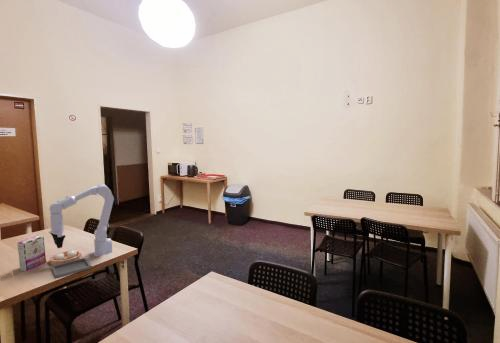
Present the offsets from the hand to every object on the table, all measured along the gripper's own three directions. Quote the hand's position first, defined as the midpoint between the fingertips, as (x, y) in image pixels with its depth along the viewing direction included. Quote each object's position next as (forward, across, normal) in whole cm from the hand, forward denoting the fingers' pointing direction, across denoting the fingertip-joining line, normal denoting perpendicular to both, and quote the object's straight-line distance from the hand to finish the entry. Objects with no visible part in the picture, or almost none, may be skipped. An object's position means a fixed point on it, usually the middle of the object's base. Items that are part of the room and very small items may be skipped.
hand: (58, 245), depth 153 cm
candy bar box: (+10, -2, -12) cm, 16 cm away
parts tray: (+10, +16, +3) cm, 19 cm away
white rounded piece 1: (+9, 0, 0) cm, 9 cm away
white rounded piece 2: (+9, 0, +6) cm, 11 cm away
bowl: (+10, 0, +3) cm, 10 cm away
